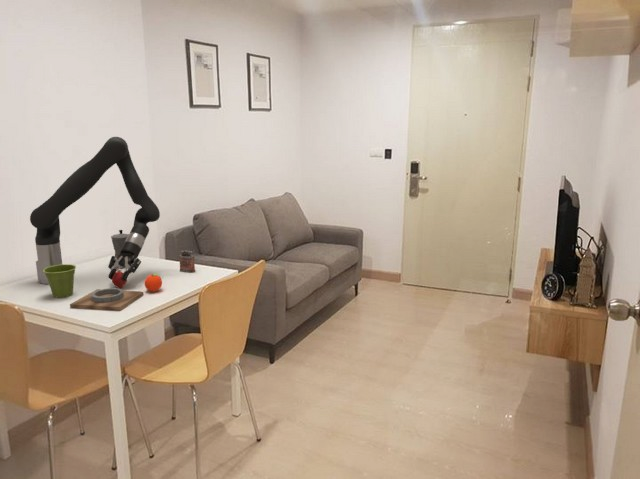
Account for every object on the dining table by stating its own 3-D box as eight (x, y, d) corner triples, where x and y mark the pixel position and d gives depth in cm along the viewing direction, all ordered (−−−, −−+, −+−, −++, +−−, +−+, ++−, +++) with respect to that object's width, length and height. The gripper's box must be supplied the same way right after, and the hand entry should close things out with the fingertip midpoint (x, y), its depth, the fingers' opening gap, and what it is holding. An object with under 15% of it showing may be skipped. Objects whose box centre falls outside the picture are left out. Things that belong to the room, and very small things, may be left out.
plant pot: (41, 295, 203) (37, 268, 200) (71, 288, 211) (68, 262, 209) (53, 302, 195) (50, 274, 193) (84, 294, 204) (81, 267, 201)
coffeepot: (107, 265, 245) (104, 229, 241) (125, 261, 253) (122, 226, 249) (124, 271, 236) (121, 234, 232) (142, 267, 243) (139, 230, 239)
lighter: (178, 271, 237) (176, 250, 235) (182, 269, 240) (181, 249, 238) (192, 273, 234) (191, 252, 232) (196, 271, 237) (195, 250, 235)
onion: (118, 291, 208) (117, 272, 207) (109, 288, 211) (108, 270, 210) (130, 287, 213) (129, 269, 211) (121, 285, 216) (120, 267, 214)
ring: (85, 301, 191) (85, 296, 191) (102, 292, 202) (102, 287, 202) (113, 303, 190) (113, 298, 189) (129, 293, 201) (128, 288, 200)
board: (70, 308, 189) (69, 304, 189) (97, 292, 206) (97, 289, 206) (120, 311, 186) (119, 307, 186) (143, 295, 204) (143, 291, 203)
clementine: (160, 286, 214) (159, 270, 213) (168, 290, 209) (167, 274, 208) (142, 290, 209) (140, 274, 207) (149, 294, 204) (148, 278, 202)
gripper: (114, 239, 217) (97, 273, 209) (142, 242, 213) (126, 276, 204) (123, 248, 223) (107, 282, 215) (151, 251, 219) (135, 285, 211)
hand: (116, 279), depth 210 cm, fingers closed on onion, 5 cm apart
